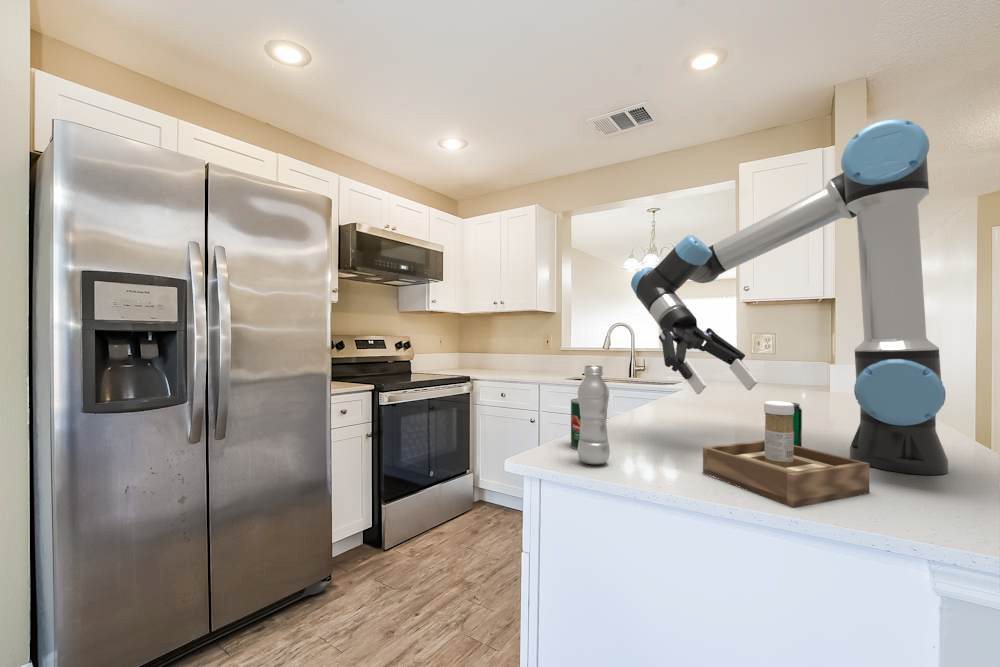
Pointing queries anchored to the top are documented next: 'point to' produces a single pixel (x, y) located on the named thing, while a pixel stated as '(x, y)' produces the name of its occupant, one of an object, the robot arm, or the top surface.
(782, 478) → the socket tray
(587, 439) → the plastic bottle
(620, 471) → the top surface
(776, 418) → the sprinkles bottle
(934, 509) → the top surface
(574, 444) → the canned tomato
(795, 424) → the soda can
